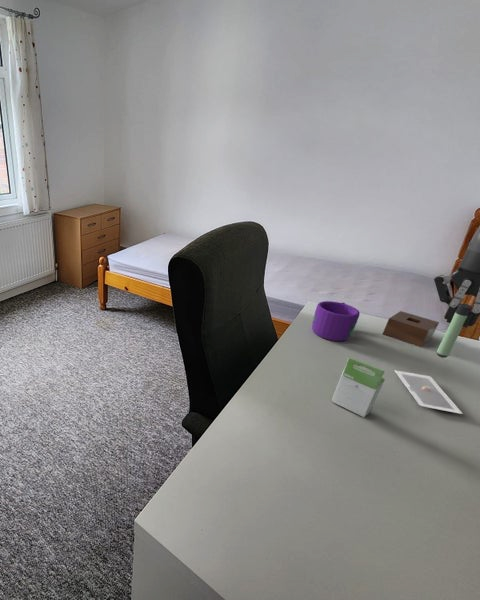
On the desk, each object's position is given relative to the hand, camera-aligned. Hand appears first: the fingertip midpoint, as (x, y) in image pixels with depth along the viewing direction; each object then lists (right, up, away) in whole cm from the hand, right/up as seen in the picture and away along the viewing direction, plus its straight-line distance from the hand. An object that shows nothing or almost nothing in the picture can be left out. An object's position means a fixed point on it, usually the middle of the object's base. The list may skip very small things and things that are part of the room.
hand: (457, 323), depth 76 cm
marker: (+1, -8, +4) cm, 9 cm away
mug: (+1, -6, +39) cm, 40 cm away
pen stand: (+23, -7, +36) cm, 43 cm away
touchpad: (+3, -19, +10) cm, 22 cm away
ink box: (-19, -21, +6) cm, 29 cm away
